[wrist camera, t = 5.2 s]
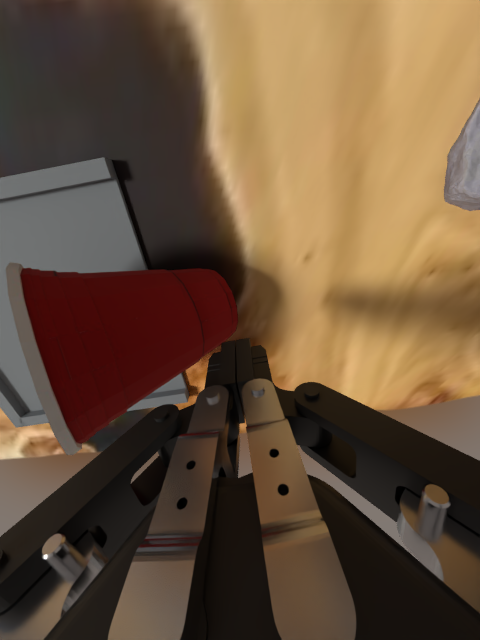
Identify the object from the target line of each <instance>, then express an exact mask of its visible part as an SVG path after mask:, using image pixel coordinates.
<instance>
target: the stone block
mask: <svg viewBox="0 0 480 640" xmlns="http://www.w3.org/2000/svg"><path fill="white" fill-rule="evenodd" d="M444 199H445V202H448V203H449V204H452V205H456V206H458V207H460V208H462V209H465V210H468V211H472V210H480V99H479V101H478V102H477V104H476V106H475V108H474V110H473V112H472V114H471V116H470V117H469V119H468V120H467V122H466V123H465V125H464V127H463V129H462V131H461V133H460V135H459V137H458V139H457V140H456V142H455V143H454V145H453V146H452V148H451V149H450V152H449V154H448V164H447V170H446V176H445V186H444Z"/></svg>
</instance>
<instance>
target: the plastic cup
mask: <svg viewBox="0 0 480 640" xmlns="http://www.w3.org/2000/svg"><path fill="white" fill-rule="evenodd" d="M6 278H7V287H8V296H9V300H10V304H11V309H12V313H13V317H14V321H15V325H16V329H17V333H18V337H19V341H20V344H21V347H22V350H23V353H24V356H25V359H26V362H27V365H28V368H29V371H30V374H31V377H32V380H33V383H34V386H35V389H36V392H37V395H38V398H39V400H40V402H41V405H42V407H43V409H44V412H45V414H46V416H47V419H48V421H49V423H50V426H51V428H52V430H53V433H54V435H55V437H56V438H57V440H58V441H59V443H60V445H61V446H62V448H63V449H64V451H65V453H66V454H67V455H73V454H75V453H76V452H78V451H79V450H80V449H82V443H83V442H86V441H88V440H89V438H90V437H92V436H93V435H95V433H96V432H97V431H99V430H101V429H102V428H104V427H106V426H107V425H109V422H111V421H112V420H114V419H116V418H117V417H119V416H120V415H122V414H124V413H125V412H127V409H129V408H130V407H132V406H133V405H135V404H136V403H138V402H139V401H141V400H142V399H143V398H145V397H146V396H148V395H149V394H151V393H152V392H154V391H155V390H157V389H158V388H160V387H161V386H163V385H164V384H166V383H167V382H169V381H170V380H172V379H173V378H174V377H176V376H177V375H179V374H180V373H182V372H183V371H185V370H186V369H188V368H189V367H191V366H192V365H194V364H195V363H197V362H198V361H199V360H200V359H201V358H202V357H203V356H205V355H206V354H207V353H209V352H210V351H212V350H213V349H215V348H216V347H218V346H219V345H221V344H222V342H225V341H226V340H227V339H228V338H229V337H230V336H231V335H232V334H233V333H234V332H235V331H236V327H237V323H238V314H237V306H236V303H235V300H234V297H233V294H232V291H231V289H230V288H229V286H228V284H227V283H226V281H225V279H224V278H223V277H222V276H221V275H219V274H218V273H217V272H216V271H214V270H210V269H201V268H194V269H181V270H166V269H160V270H139V271H118V272H97V273H78V272H56V271H41V270H39V269H32V268H24V267H23V266H22V265H21V264H20V263H12V262H10V263H9V264H8V266H7V267H6Z"/></svg>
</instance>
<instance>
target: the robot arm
mask: <svg viewBox="0 0 480 640" xmlns="http://www.w3.org/2000/svg"><path fill="white" fill-rule="evenodd" d="M245 419H246V424H247V427H246V430H247V436H248V443H249V450H250V457H251V464H252V470H253V473H250V474H248V475H245V476H243V477H241V478H238V470H239V452H240V435H239V424H240V423H245ZM297 445H300V447H301V449H302V450H303V451H304V452H305V453H306V454H307V455H309V456H310V457H311V458H313V459H314V460H315V461H317V462H318V463H319V464H320V465H322V466H323V467H324V468H326V469H327V470H328V471H330V472H331V473H332V474H334V475H335V476H336V477H338V478H339V479H340V480H342V481H343V482H344V483H345V484H347V485H348V486H350V487H351V488H352V489H354V490H355V491H356V492H357V493H359V494H360V495H361V496H363V497H364V498H365V499H367V500H368V501H369V502H371V503H372V504H373V505H374V506H376V507H377V508H378V509H380V510H381V511H383V512H384V513H385V514H386V515H388V516H389V517H390V518H392V519H393V520H394V521H395V522H397V529H398V533H399V536H400V537H401V540H402V542H403V543H404V545H405V546H406V547H407V549H408V550H409V551H410V552H411V553H412V554H413V555H414V556H415V557H416V558H417V559H418V560H419V561H420V562H419V561H418V560H417V559H416V558H415V557H413V556H412V555H411V554H410V553H409V552H407V551H406V550H405V549H404V548H403V547H402V546H401V545H399V544H398V543H397V542H396V541H395V540H394V539H392V538H391V537H390V536H389V535H388V534H387V533H385V532H384V531H383V530H382V529H381V528H380V527H378V526H377V525H376V524H375V523H374V522H373V521H371V520H370V519H369V518H368V517H367V516H366V515H364V514H363V513H362V512H361V511H360V510H359V509H357V508H356V507H355V506H354V505H353V504H351V503H350V502H349V501H348V500H347V499H346V498H344V497H343V496H342V495H341V494H340V493H339V492H337V491H336V490H335V489H334V488H333V487H331V486H330V485H328V484H327V483H325V482H324V481H322V480H320V479H318V478H316V477H313V476H310V475H307V473H306V471H305V468H304V465H303V462H302V459H301V457H300V453H299V451H298V448H297ZM157 451H158V453H159V456H158V458H156V459H155V460H154V461H153V463H151V464H150V466H148V467H147V469H145V470H144V471H143V472H142V473H141V475H139V476H138V477H137V478H136V479H135V480H134V481H133V482H132V483H131V479H132V477H133V475H134V474H135V473H136V472H137V471H138V470H139V468H141V467H142V466H143V465H144V464H145V463H146V462H147V461H148V460H149V459H150V458H151V457H152V456H153V455H154V454H155V453H156V452H157ZM0 640H480V461H479V460H477V459H474V458H473V457H471V456H469V455H466V454H464V453H462V452H460V451H458V450H456V449H454V448H452V447H450V446H448V445H446V444H444V443H442V442H440V441H438V440H435V439H433V438H431V437H429V436H427V435H425V434H423V433H421V432H419V431H417V430H415V429H413V428H411V427H409V426H407V425H405V424H402V423H400V422H398V421H396V420H394V419H392V418H390V417H388V416H386V415H384V414H382V413H380V412H378V411H376V410H374V409H372V408H370V407H368V406H365V405H363V404H361V403H359V402H357V401H355V400H353V399H351V398H349V397H347V396H345V395H343V394H341V393H339V392H337V391H335V390H332V389H330V388H328V387H326V386H324V385H322V384H320V383H315V382H307V383H303V384H301V385H299V386H298V387H297V388H296V389H295V391H287V390H282V389H280V388H278V387H276V386H275V385H274V383H273V382H272V378H271V373H270V368H269V364H268V359H267V354H266V350H265V349H264V348H263V347H262V346H261V345H259V346H253V347H251V343H250V338H245V339H239V340H236V341H235V340H234V341H228V342H222V347H221V352H217V353H213V355H212V356H211V357H210V359H209V363H208V370H207V376H206V383H205V389H204V390H202V391H201V392H200V393H199V395H198V397H197V400H196V403H195V404H193V405H191V406H189V407H186V408H184V409H181V410H179V409H178V407H177V406H175V405H173V404H165V405H161V406H159V407H157V408H155V409H154V410H152V411H151V412H150V413H149V414H147V415H146V416H145V417H144V418H143V419H141V420H140V421H139V422H138V423H137V424H135V425H134V426H133V427H132V428H131V429H129V430H128V431H127V432H126V433H125V434H123V435H122V436H121V437H120V438H119V439H117V440H116V441H115V442H114V443H113V444H111V445H110V446H109V447H108V448H107V449H105V450H104V451H103V452H102V453H101V454H99V455H98V456H97V457H96V458H95V459H93V460H92V461H91V462H90V463H89V464H87V465H86V466H85V467H84V468H83V469H81V470H80V471H79V472H78V473H77V474H75V475H74V476H73V477H72V478H70V479H69V480H68V481H67V482H66V483H65V484H63V485H62V486H61V487H60V488H59V489H57V490H56V491H55V492H54V493H52V494H51V495H50V496H49V497H48V498H46V499H45V500H44V501H43V502H42V503H40V504H39V505H38V506H37V507H36V508H34V509H33V510H32V511H31V512H30V513H29V514H27V515H26V516H25V517H24V518H22V519H21V520H20V521H19V522H18V523H16V525H14V526H13V527H12V528H11V529H9V530H8V531H7V532H6V533H4V534H3V535H2V536H1V537H0Z"/></svg>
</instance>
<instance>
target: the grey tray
mask: <svg viewBox="0 0 480 640" xmlns="http://www.w3.org/2000/svg"><path fill="white" fill-rule="evenodd" d="M10 262H12V263H20V264H21V265H22V266H23V267H24V268H32V269H39V270H41V271H56V272H78V273H97V272H118V271H139V270H148V268H147V265H146V262H145V259H144V256H143V253H142V250H141V247H140V244H139V241H138V238H137V235H136V232H135V229H134V226H133V223H132V220H131V217H130V214H129V211H128V208H127V205H126V202H125V199H124V196H123V193H122V190H121V187H120V184H119V181H118V178H117V175H116V172H115V169H114V166H113V163H112V160H111V159H108V158H104V157H103V158H98V159H93V160H88V161H83V162H78V163H73V164H68V165H63V166H58V167H53V168H48V169H43V170H38V171H33V172H28V173H23V174H18V175H12V176H7V177H2V178H0V408H1V409H2V410H3V411H4V413H5V414H6V415H7V417H8V418H9V419H10V420H11V422H12V423H13V424H14V425H15V427H23V426H30V425H36V424H43V423H49V421H48V419H47V416H46V414H45V412H44V409H43V407H42V405H41V402H40V400H39V398H38V395H37V392H36V389H35V386H34V383H33V380H32V377H31V374H30V371H29V368H28V365H27V362H26V359H25V356H24V353H23V350H22V347H21V344H20V341H19V337H18V333H17V329H16V325H15V321H14V317H13V313H12V309H11V304H10V300H9V296H8V287H7V278H6V267H7V266H8V264H9V263H10ZM188 398H189V392H188V389H187V386H186V383H185V380H184V376H183V373H180V374H179V375H177V376H176V377H174V378H173V379H172V380H170V381H169V382H167V383H166V384H164V385H163V386H161V387H160V388H158V389H157V390H155V391H154V392H152V393H151V394H149V395H148V396H146V397H145V398H143V399H142V400H141V401H139V402H138V403H136V404H135V405H133V406H132V407H130V408H129V409H127V411H131V410H138V409H144V408H151V407H158V406H161V405H165V404H178V403H185V402H188Z"/></svg>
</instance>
